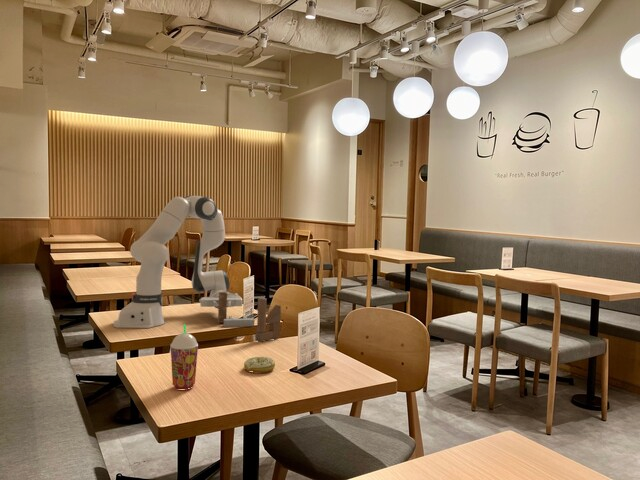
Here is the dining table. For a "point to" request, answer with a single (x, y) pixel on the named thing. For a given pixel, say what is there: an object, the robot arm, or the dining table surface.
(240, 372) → the dining table surface
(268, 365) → the decorated donut
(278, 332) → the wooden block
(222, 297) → the plank
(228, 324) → the socket
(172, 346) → the smoothie
